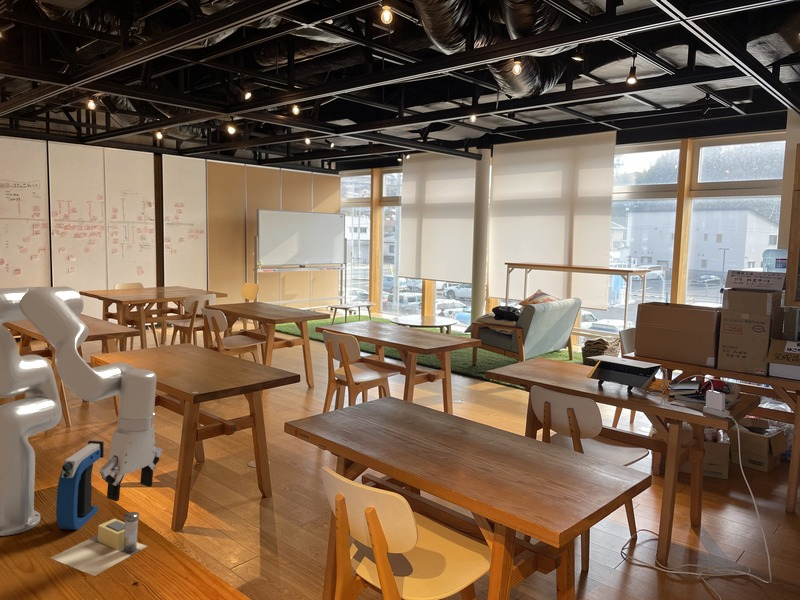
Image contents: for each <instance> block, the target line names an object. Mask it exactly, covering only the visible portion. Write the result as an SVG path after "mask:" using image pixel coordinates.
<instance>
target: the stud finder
mask: <svg viewBox="0 0 800 600" xmlns="http://www.w3.org/2000/svg"><path fill="white" fill-rule="evenodd" d="M97 527H98V528H97V535H98V541H99V542H101V543H103V544H105V545H107V546H109V547H112V548H114V549H116V550H118V549H120V548H122V547H124V534H125V521H123V520H122V521H121V520H119V519H118V518H112V519H109V520H108V521H106V522H103V523H101V524H98V526H97Z"/></svg>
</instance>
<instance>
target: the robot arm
mask: <svg viewBox="0 0 800 600" xmlns="http://www.w3.org/2000/svg"><path fill="white" fill-rule="evenodd" d="M84 304H85V303H84V299H83V296H81V294H80V293H79V292H78V291H77V290H76V289H74V288H72V287H69V286H24V287H23V286H22V287H5V288H4V287H1V288H0V399H3V398H4V399H5V398H6V399H7V398H9V397H10V398H11V397H15V396H19V395H23V394H25V397H26V398H21V399H18V400H14V401H11V402H7V403H4V404H1V405H0V536H3V537H4V536H10V535H11V536H12V535H17V534H20V533H24V532H26V531H29V530H30V529H33V528H35V526H38V524H39V523H40V522H41V514H40V512H38V511H37V510H35V509H34V508H35V507H34V506H35V501H34V500H35V484H36V483H35V478H36V475H35V474H36V452H35V449H34V448H33V446H32V445H31V444H30V442H29V437H32V436H34V435H37V434H39V433H43V432H46V431H49V430H51V429H53V428H55V427H56V426H58V424H60V422H61V419H62V416H63V415H62V414H63V410H62V403H61V399H60V394H59V390H58V386H57V381H56V378H55V374H54V369H53V368H52V365H51V364H50V363H49V361H48V360H47V359H46V358H45V357H43V356H41V355H39V354H26V355H25V354H24V355H20V353H19V350H18V344H17V341H16V339H15V337H14V336H13V334H12V332H10V331H9V329H8V328H6V327H5V326H4V325H3V324H5V323H11V322H12V323H15V322H21V321H28V322H30V323H31V324H32V326H33V327H34V328H35V329H36V330H37V331H38V332H39V333H40V334H41V336H43V337H44V338H45V339H46V341H47V342H48V343H49V344H50V345H51V346H52V347H53V348H54V349H55V355H54V361H55V362H54V363H55V367H56V371H57V374H58V376H59V378H60V379H61V381H62V382H63V383H64V384H65V385H66V386H67V387H68V388H69V390H71V392H72V393H73V394H74V395H76V396H77V397H78V398H79V399H81V400H83V401H84V402H85V401H86V402H92V403H93V402H97V401H101V400H105V399H108V398H110V397H116V396H119V403H118V404H119V406H118V407H119V408H118V417H117V418H118V419H117V429H114V431H113V434H112V438H111V442H110V446H109V451H108V458H107V462H106V463H105V464H104V465H102V467H101V468H99V474H100V475H101V479H102V480H103V481H104V482H105V483H106V484H107V491H106V492H107V493H106V498H107V499H109V500H111V501H113V502H119V500H120V494H121V484H120V482H121V479H122V478H123V476H125V475H128V474H131V473H133V472H136V471H137V470H140V471H141V473H140V482H139V483H140V485H143V486H145V487H148V488H151V487H152V486H153V479H154V471H155V470H156V468H157V464H158V463H159V461H160V457H161V454H162V452H163V448H160V447H157V446H156V435H155V433H156V432H155V426H154V419H155V418H156V415H155V404H156V403H155V402H156V393H157V391H156V390H157V379H158V377H157V373H155V372H154V371H153V370H150V369H145V368H137V367H135V366H133V365H131V364H129V363H126V362H122V361H121V362H119V361H118V362H114V363H113V362H112V363H109V364H104V365H100V366H99V365H98V366H95V367H91V366H90V365H89V364H88V363H87V362H86V361H85V360H84V359H83V357H82V356H81V355H80V353H79V351H78V348H79V347H80V346H81V345H82V344H83V343H84V342H85V340H86V339H87V338H88V336H89V334H90V330H89V327H88V326H87V324H86V323H85V322H84V321H83V320H82V319H81V318H80V317H79V316H80V315H81V314H82V312H83V311H84ZM116 474H117V475H116Z"/></svg>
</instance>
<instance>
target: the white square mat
mask: <svg viewBox="0 0 800 600" xmlns="http://www.w3.org/2000/svg"><path fill="white" fill-rule="evenodd" d="M147 547H149V546H148V545H146V544H144V543H143V544H142V543H140V542H137V550H136V551H135V552H133V553H125V552H124V547H122V548H120V549H118V550H116V549H114V548H112V547H109V546H107V545H105V544H103V543H101V542H99V541H98V534H96V535H94V536H92V537H90V538H89V539H86V540H84V541H82V542H80V543H78V544H76V545H74V546H72V547H69V548H68V549H66V550H63V551H62V552H60V553H58V554H55V555H53V556H51V557H50V559H51V560H53V561H56V562H58V563H61V564H63V565H66V566H69V567H71V568H74V569H75V570H78V571H81V572H83V573H85V574H88V575H91V576H93V577H95V576H97V575H99V574H101V573H103V572H105V571H106V570H109V569H110V568H112V567H113V566H116V565H117V564H118V563H121V562H123V561H124V560H126V559H128V558H130V557H131V556H134V555H135V554H137V553H138V552H140V551H142V550H144V549H145V548H147Z"/></svg>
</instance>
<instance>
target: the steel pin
mask: <svg viewBox="0 0 800 600" xmlns="http://www.w3.org/2000/svg"><path fill="white" fill-rule="evenodd" d="M123 516H124V523H125V534H124V552H125V553H133V552H135V551H136V550H137V543H138V528H139V527H138V525H139V519H140V513H139V512H137V511H129V512H127V513H124V515H123Z"/></svg>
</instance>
